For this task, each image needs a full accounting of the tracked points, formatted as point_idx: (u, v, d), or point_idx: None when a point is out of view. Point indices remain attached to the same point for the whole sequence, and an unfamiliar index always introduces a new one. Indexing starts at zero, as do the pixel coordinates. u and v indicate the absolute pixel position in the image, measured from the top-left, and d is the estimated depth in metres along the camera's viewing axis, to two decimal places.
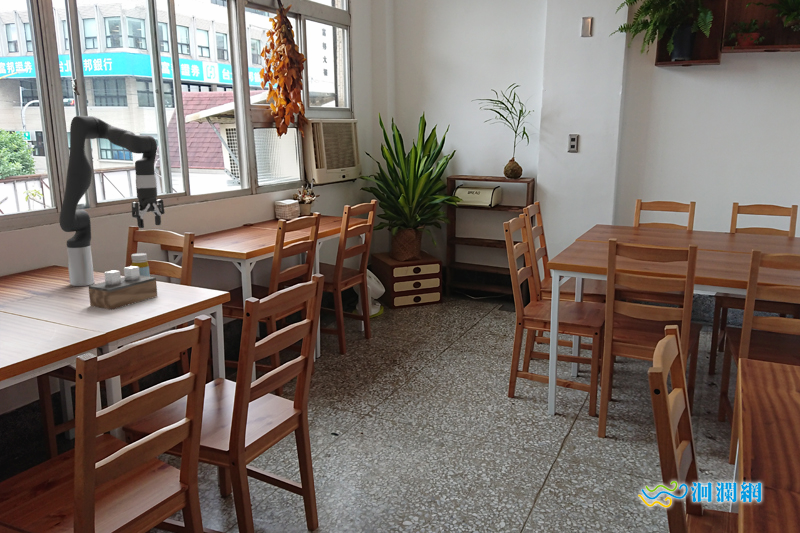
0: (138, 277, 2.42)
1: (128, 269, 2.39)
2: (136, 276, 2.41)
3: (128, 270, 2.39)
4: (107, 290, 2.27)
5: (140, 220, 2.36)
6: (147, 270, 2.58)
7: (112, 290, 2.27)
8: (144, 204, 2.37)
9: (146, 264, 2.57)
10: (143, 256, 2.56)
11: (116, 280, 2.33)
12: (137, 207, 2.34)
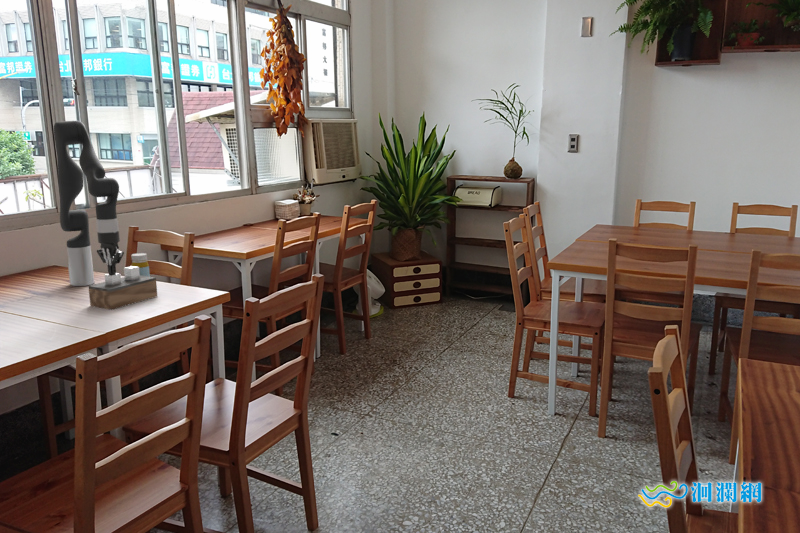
0: (138, 277, 2.42)
1: (128, 269, 2.39)
2: (136, 276, 2.41)
3: (128, 270, 2.39)
4: (107, 290, 2.27)
5: None
6: (147, 270, 2.58)
7: (112, 290, 2.27)
8: None
9: (146, 264, 2.57)
10: (143, 256, 2.56)
11: (116, 283, 2.33)
12: None
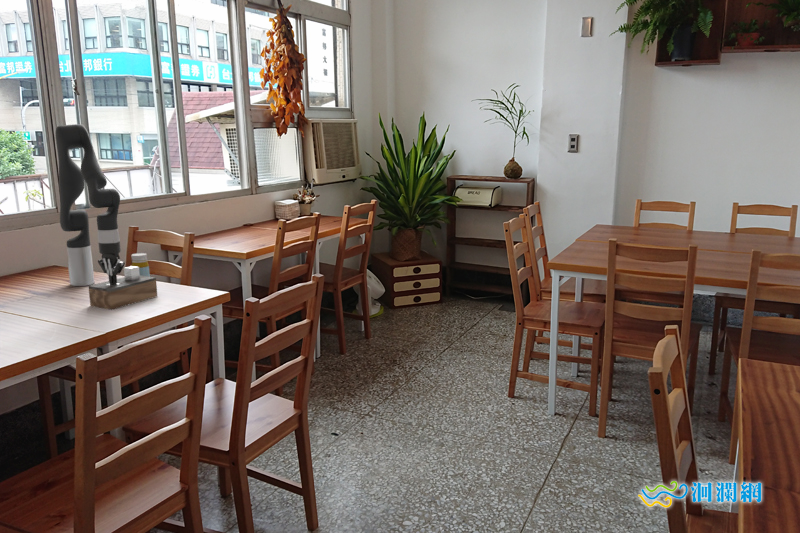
0: (138, 277, 2.42)
1: (128, 269, 2.39)
2: (136, 276, 2.41)
3: (128, 270, 2.39)
4: (107, 290, 2.27)
5: None
6: (147, 270, 2.58)
7: (112, 290, 2.27)
8: None
9: (146, 264, 2.57)
10: (143, 256, 2.56)
11: None
12: None
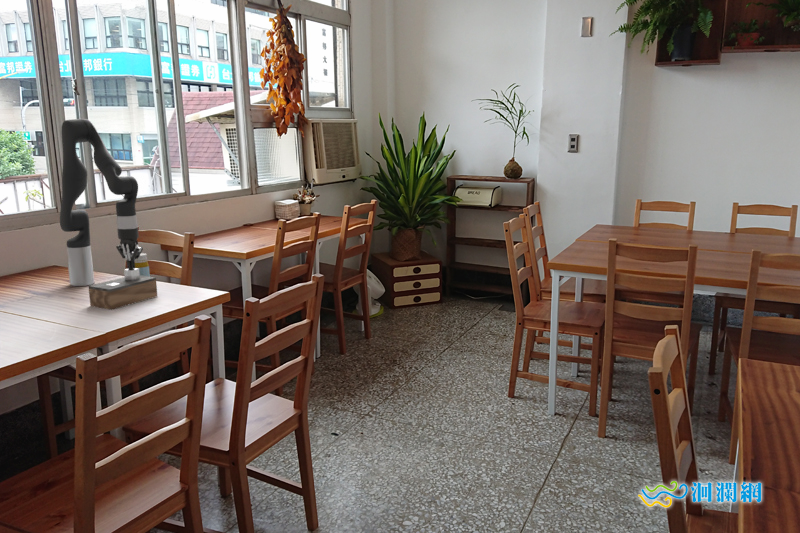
0: None
1: (128, 271, 2.40)
2: (136, 278, 2.42)
3: (129, 272, 2.39)
4: (107, 290, 2.27)
5: None
6: (147, 270, 2.58)
7: (112, 290, 2.27)
8: None
9: (146, 264, 2.57)
10: (143, 256, 2.56)
11: None
12: None
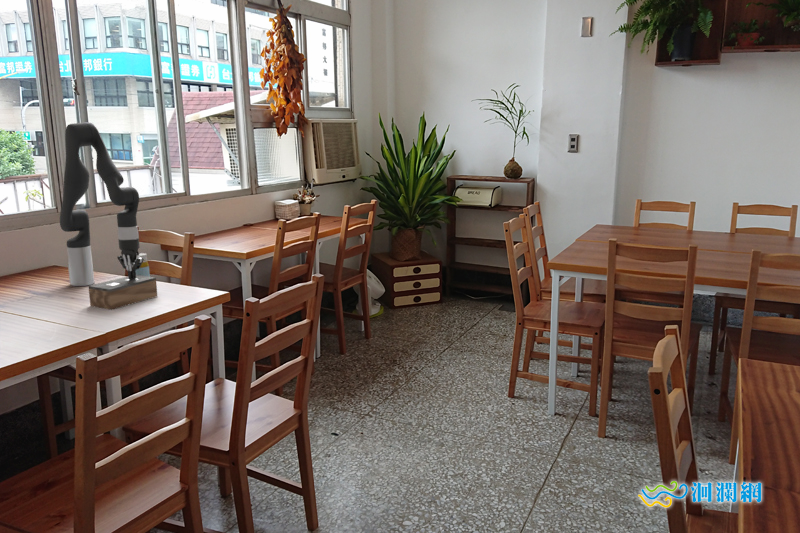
0: None
1: None
2: None
3: None
4: (107, 290, 2.27)
5: None
6: (147, 270, 2.58)
7: (112, 290, 2.27)
8: None
9: (146, 264, 2.57)
10: (143, 256, 2.56)
11: None
12: None
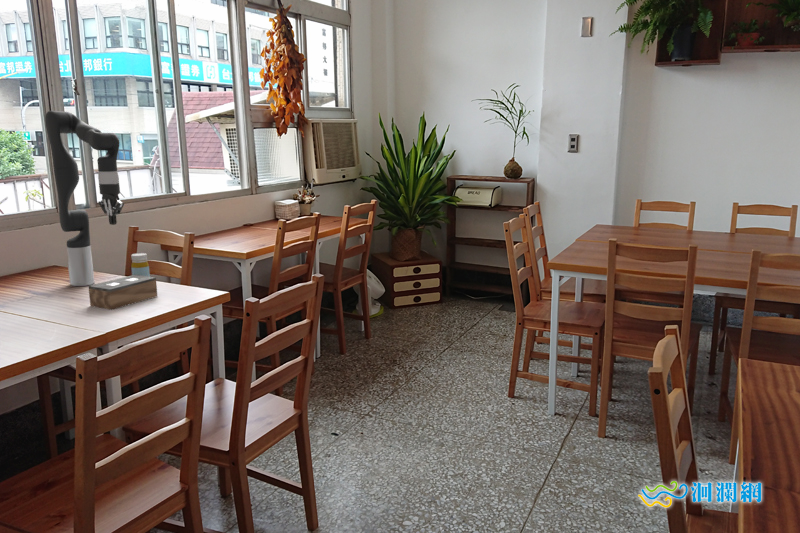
0: None
1: None
2: None
3: None
4: (107, 290, 2.27)
5: None
6: (147, 270, 2.58)
7: (112, 290, 2.27)
8: None
9: (146, 264, 2.57)
10: (143, 256, 2.56)
11: None
12: None
